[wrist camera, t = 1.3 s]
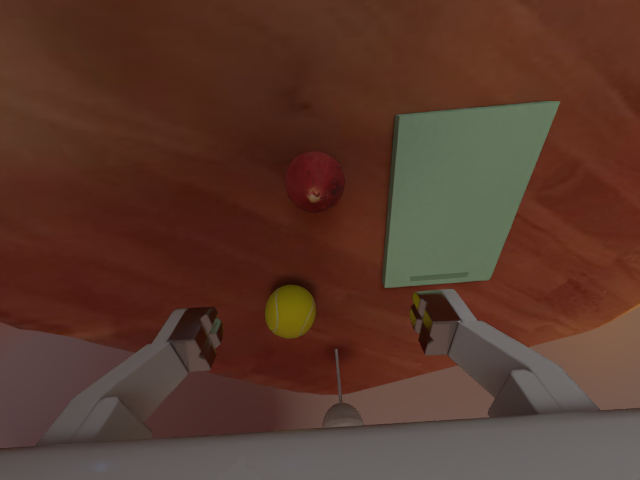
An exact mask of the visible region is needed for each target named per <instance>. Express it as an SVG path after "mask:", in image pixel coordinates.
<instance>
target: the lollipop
mask: <svg viewBox="0 0 640 480" xmlns="http://www.w3.org/2000/svg"><path fill="white" fill-rule="evenodd" d="M335 357H336V369H337V380H338V392H339V403H338V404H335V405H333V406H332V407H331V408H330V409H329V410H328V411H327V413H326V415H325V417H324V420H323V428H329V427H345V426H361V425H364V424H363V420H362V418H361V416H360V414H359V412H358V411H357V410H356V409H355V408H354V407H353V406H351V405H350V404H346V403H342V393H341V383H340V372H339V362H338V351H337V349H335Z"/></svg>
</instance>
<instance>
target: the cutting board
mask: <svg viewBox="0 0 640 480" xmlns="http://www.w3.org/2000/svg"><path fill="white" fill-rule="evenodd" d="M559 103H560V102H557V101H544V102H532V103H521V104H510V105H499V106H488V107H477V108H466V109H454V110H443V111H432V112H421V113H410V114H399V115H395V122H394V135H393V147H392V160H391V173H390V185H389V198H388V211H387V223H386V236H385V249H384V261H383V274H382V283H383V285H384V288H391V287H404V286H417V285H430V284H443V283H456V282H469V281H482V280H490V278H491V276H492V273H493V271H494V268H495V266H496V263H497V260H498V258H499V255H500V253H501V250H502V248H503V245H504V243H505V240H506V238H507V235H508V233H509V230H510V228H511V225H512V222H513V220H514V217H515V215H516V212H517V210H518V207H519V205H520V202H521V200H522V197H523V195H524V192H525V190H526V187H527V184H528V182H529V179H530V177H531V174H532V172H533V169H534V167H535V164H536V162H537V159H538V157H539V154H540V152H541V149H542V147H543V144H544V141H545V139H546V136H547V134H548V131H549V129H550V126H551V124H552V121H553V119H554V116H555V114H556V111H557V109H558V106H559Z"/></svg>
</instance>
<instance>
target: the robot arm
mask: <svg viewBox="0 0 640 480" xmlns="http://www.w3.org/2000/svg"><path fill="white" fill-rule="evenodd" d="M412 300H413V302H414V304H413V305H412V306H411V307H410V320H411V323H412V326H413V329H414V330H415V331H416V332H417V333H419V334H420V335H419V342H420V345H421V347H422V349H423V351H424V354H425V355H448V356H449V357H450V358H451V359H452V360H453V361H454V362H455V363H457V364H458V365H459V366H460V367H461V368H462V369H463V370H465V372H467V373H468V374H469V375H470V376H471V377H472V378H473V379H474V380H475V381H477V382H478V383H479V384H480V385H481V386H482V387H483V388H484V389H485V390H487V391H488V392H489V393H490V394H491V395H492V396H493V397H494V398H495V400H494V401H493V403H492V405H491V407H490V408H489V410H488V415H489V416H490V417H489V418H474V419H457V420H441V421H425V422H410V423H395V424H394V423H393V424H377V425H361V426H345V427H329V428H313V429H298V430H283V431H265V432H250V433H235V434H219V435H203V436H187V437H172V438H157V439H151V438H152V435H153V433H152V430H151V429H150V428H149V427H148V426H147V425H146V424H145V423H144V422H145V421H146V419H147V418H148V417H149V416H150V415H151V414H152V413H153V412H154V411H155V410H156V409H157V407H158V406H159V405H160V404H161V403H162V402H163V401H164V400H165V399H166V398H167V397H168V396H169V394H170V393H171V392H172V391H173V390H174V389H175V388H176V387H177V386H178V385H179V384H180V382H181V381H182V380H183V379H184V378H185V377H186V376H187V375H188V374H189V373H188V372H195V371H206V370H211V367H212V365H213V362H214V359H215V357H216V351H215V348H216V347H218V346H219V345H220V344H221V341H222V338H223V324H222V322H221V320H219V319H218V318H216V316H217V314H218V312H217V310H216V308H215V307H201V308H185V309H176V310H175V311H173V312H172V314H171V315H170V317H169V318H168V320H167V321H166V323H165V324H164V326H163V327H162V329H161V330H160V332H159V333H158V335H157V336H156V338H155V339H154V341H153V342H152V344H147V345H146V346H144V347H143V348H142V349H140V350H139V351H138V352H136V353H135V354H133V355H132V356H131V357H129V358H128V359H127V360H125V361H124V362H122V363H121V364H120V365H119V366H117V367H116V368H114V369H113V370H111V371H110V372H109V373H107V374H106V375H105V376H103V377H102V378H100V379H99V380H98V381H96V382H95V383H93V384H92V385H91V386H89V387H88V388H87V389H85V390H84V391H82V392H81V393H80V394H78V395H77V396H75V397H74V398H73V399H72V401H71V402H70V403H69V404H68V405H67V407H66V408H65V409H64V410H63V412H62V413H61V414H60V415H59V417H58V418H57V419H56V420H55V422H54V423H53V424H52V425H51V427H50V428H49V429H48V430H47V432H46V433H45V434H44V435H43V436H42V438H41V439H40V440H39V441H38V443H37V444H36V445H35V446H30V447H14V448H0V480H640V408H631V409H614V410H600V409H599V408H598V407H597V406H596V405H595V403H594V402H593V401H592V400H591V399H590V398H589V397H588V396H587V395H586V394H585V393H584V392H583V390H582V389H581V388H580V387H579V386H578V385H577V384H576V383H575V382H574V381H573V380H572V378H571V377H570V376H569V375H568V374H567V373H566V372H565V371H564V370H563V369H562V368H561V367H560V366H559V365H557V364H556V363H554V362H552V361H550V360H549V359H547V358H545V357H544V356H542V355H540V354H538V353H537V352H535V351H533V350H532V349H530V348H528V347H526V346H525V345H523V344H521V343H519V342H518V341H516V340H514V339H513V338H511V337H509V336H507V335H506V334H504V333H502V332H500V331H499V330H497V329H495V328H494V327H492V326H490V325H488V324H487V323H485V322H483V321H478V320H477V319H476V318H475V316H474V315H473V314H472V312H471V311H470V310H469V308H468V307H467V306H466V304H465V303H464V302H463V300H462V299H461V298H460V296H459V295H458V294H457V292H456V291H455V290H453V289H445V290H433V291H421V292H414V293H413V296H412Z"/></svg>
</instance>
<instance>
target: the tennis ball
mask: <svg viewBox="0 0 640 480" xmlns="http://www.w3.org/2000/svg"><path fill="white" fill-rule="evenodd" d="M315 315H316V305H315V301H314V299H313V297H312V295H311V294H310V293H309V291H307V290H306V289H305V288H303V287H300V286H297V285H284V286H282V287H280V288H278V289H276V290H275V291H274V292H273V293H272V294H271V296H270V297H269V299H268V301H267V304H266V308H265V319H266V323H267V325H268V327H269V329H270V330H271V331H272V332H273V333H274V334H276V335H278V336H280V337H283V338H297V337H299V336H302V335H304V334H305V333H306V332H307V331H308V330H309V329H310V328H311V326H312V324H313V322H314V320H315Z"/></svg>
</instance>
